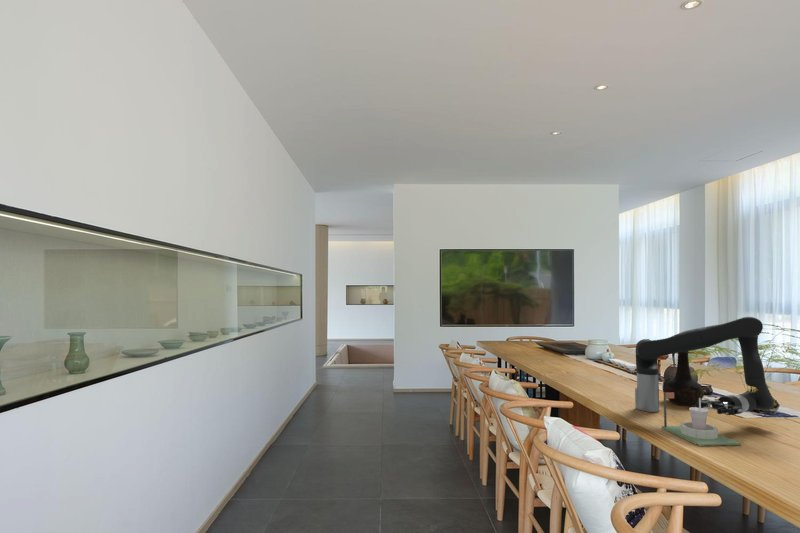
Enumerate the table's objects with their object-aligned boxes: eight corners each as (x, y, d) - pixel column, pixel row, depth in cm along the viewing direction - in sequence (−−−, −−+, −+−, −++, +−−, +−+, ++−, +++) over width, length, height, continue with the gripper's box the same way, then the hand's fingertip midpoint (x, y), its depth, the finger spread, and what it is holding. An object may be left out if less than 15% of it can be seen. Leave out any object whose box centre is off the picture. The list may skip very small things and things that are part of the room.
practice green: (661, 428, 192) (660, 392, 193) (698, 427, 193) (697, 391, 194) (699, 446, 170) (698, 405, 171) (740, 445, 171) (739, 405, 172)
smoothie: (711, 437, 178) (710, 400, 179) (693, 436, 179) (692, 399, 180) (704, 432, 184) (703, 396, 185) (686, 431, 186) (686, 395, 186)
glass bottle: (666, 397, 245) (665, 344, 247) (706, 403, 234) (705, 347, 235) (659, 403, 232) (657, 347, 233) (701, 410, 220) (699, 351, 221)
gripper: (715, 391, 197) (689, 395, 191) (751, 399, 184) (725, 403, 178) (715, 409, 197) (690, 413, 191) (752, 418, 184) (725, 422, 178)
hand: (707, 408), depth 184 cm, fingers open, 8 cm apart
